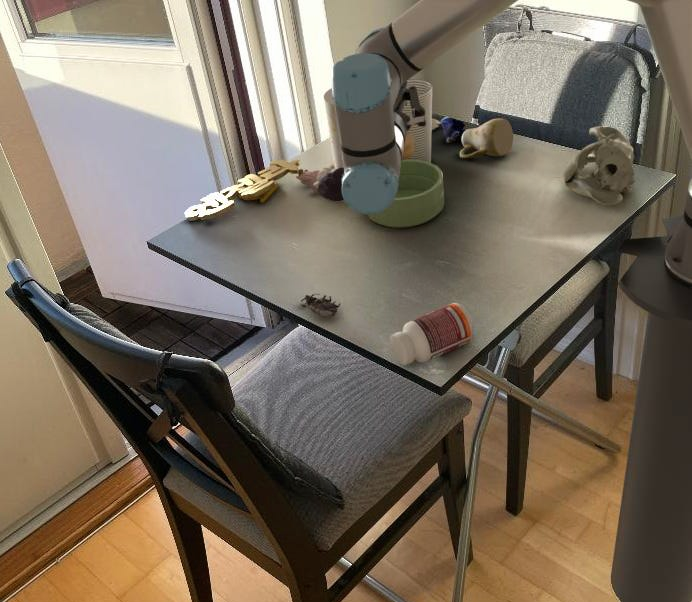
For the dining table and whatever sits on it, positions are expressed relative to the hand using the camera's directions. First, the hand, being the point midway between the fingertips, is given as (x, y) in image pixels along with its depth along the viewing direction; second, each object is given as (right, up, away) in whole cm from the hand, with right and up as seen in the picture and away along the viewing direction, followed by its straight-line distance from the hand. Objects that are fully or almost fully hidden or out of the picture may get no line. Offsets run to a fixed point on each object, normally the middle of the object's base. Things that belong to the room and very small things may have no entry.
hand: (392, 77), depth 136 cm
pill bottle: (+9, -42, -20) cm, 47 cm away
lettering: (-28, -15, +22) cm, 38 cm away
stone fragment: (+7, +3, +32) cm, 33 cm away
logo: (-23, -15, +22) cm, 35 cm away
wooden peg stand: (+1, -12, +3) cm, 12 cm away
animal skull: (+39, -18, +9) cm, 43 cm away
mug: (+19, -7, +24) cm, 31 cm away
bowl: (+3, -20, +12) cm, 23 cm away
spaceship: (+16, 0, +26) cm, 31 cm away
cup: (+6, -9, +24) cm, 26 cm away
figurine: (-12, -16, +19) cm, 28 cm away
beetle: (-10, -37, -7) cm, 39 cm away
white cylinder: (-5, -9, +26) cm, 28 cm away
